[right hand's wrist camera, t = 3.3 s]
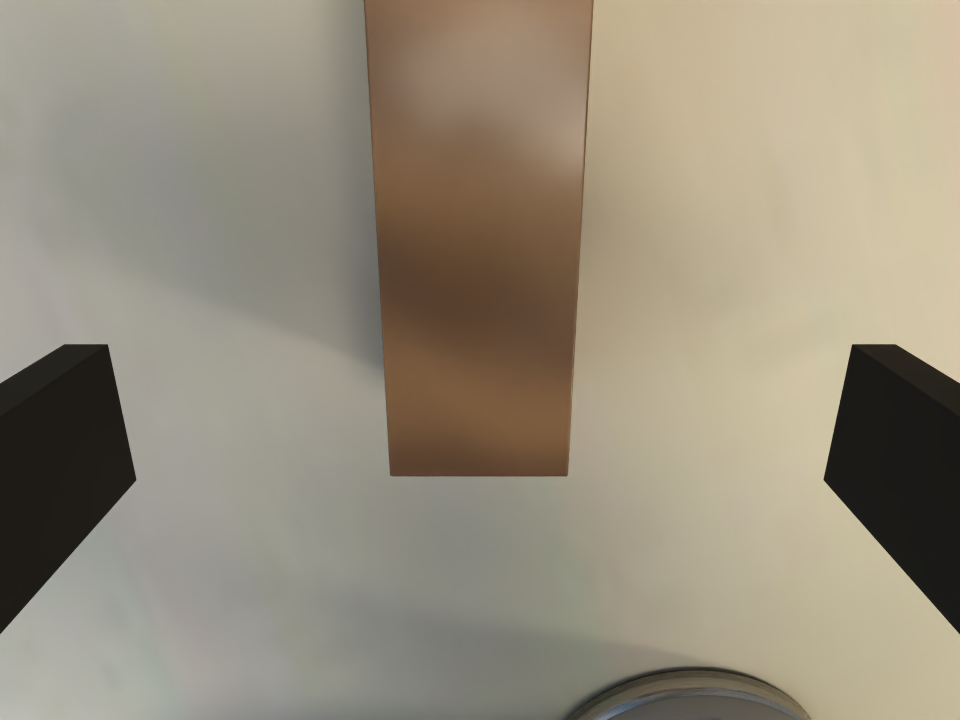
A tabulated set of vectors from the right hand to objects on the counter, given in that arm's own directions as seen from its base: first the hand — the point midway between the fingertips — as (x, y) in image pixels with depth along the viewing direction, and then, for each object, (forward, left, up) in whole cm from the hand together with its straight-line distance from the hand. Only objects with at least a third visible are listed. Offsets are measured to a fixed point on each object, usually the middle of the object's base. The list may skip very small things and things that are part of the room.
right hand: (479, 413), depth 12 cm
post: (+15, -26, -15) cm, 33 cm away
